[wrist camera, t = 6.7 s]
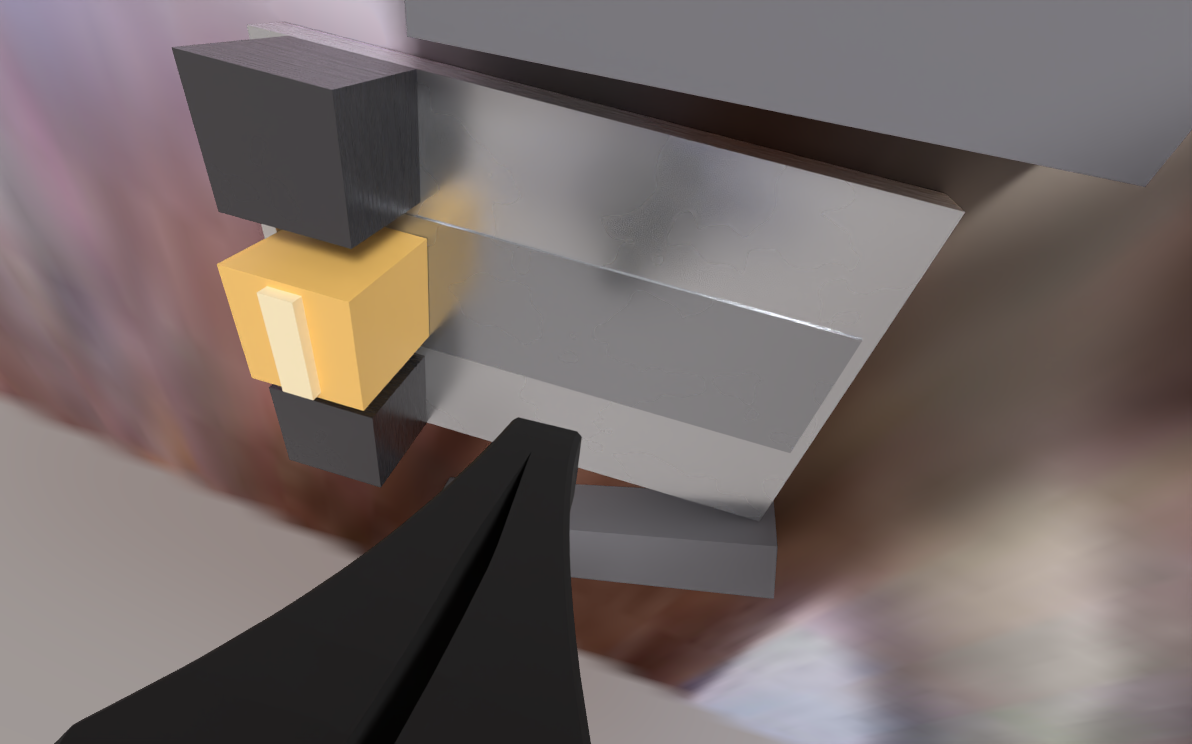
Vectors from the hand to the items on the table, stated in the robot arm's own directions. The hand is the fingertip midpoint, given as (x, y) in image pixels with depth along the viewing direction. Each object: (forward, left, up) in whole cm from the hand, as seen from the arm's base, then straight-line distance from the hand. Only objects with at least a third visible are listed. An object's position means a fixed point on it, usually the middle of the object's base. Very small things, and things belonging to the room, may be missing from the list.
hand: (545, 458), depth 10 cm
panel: (+1, 0, -6) cm, 6 cm away
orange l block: (+6, 0, -5) cm, 8 cm away
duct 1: (-2, +9, -6) cm, 11 cm away
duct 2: (-2, -8, -6) cm, 10 cm away
